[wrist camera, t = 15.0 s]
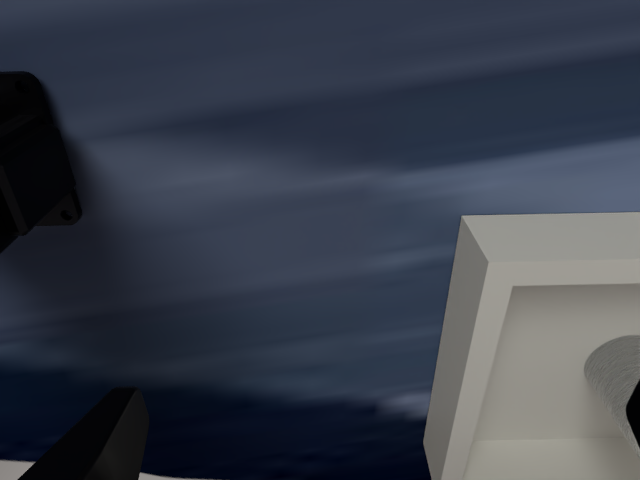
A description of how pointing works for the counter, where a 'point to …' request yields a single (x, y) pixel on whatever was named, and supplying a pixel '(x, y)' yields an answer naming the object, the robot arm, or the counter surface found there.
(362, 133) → the counter surface
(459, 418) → the tray
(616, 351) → the metal pin
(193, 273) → the counter surface
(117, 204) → the counter surface
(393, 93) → the counter surface
